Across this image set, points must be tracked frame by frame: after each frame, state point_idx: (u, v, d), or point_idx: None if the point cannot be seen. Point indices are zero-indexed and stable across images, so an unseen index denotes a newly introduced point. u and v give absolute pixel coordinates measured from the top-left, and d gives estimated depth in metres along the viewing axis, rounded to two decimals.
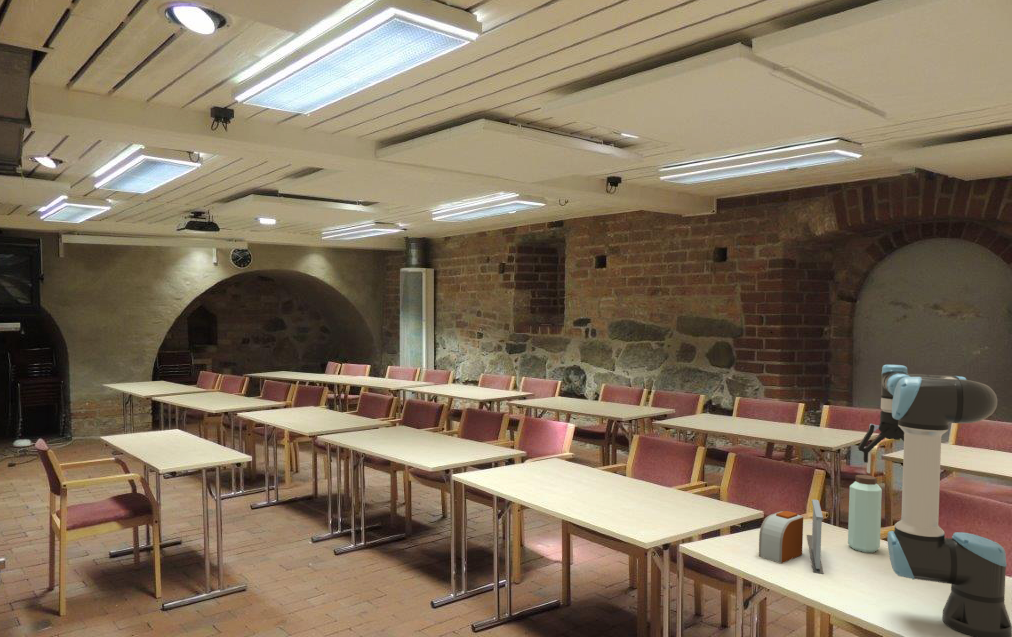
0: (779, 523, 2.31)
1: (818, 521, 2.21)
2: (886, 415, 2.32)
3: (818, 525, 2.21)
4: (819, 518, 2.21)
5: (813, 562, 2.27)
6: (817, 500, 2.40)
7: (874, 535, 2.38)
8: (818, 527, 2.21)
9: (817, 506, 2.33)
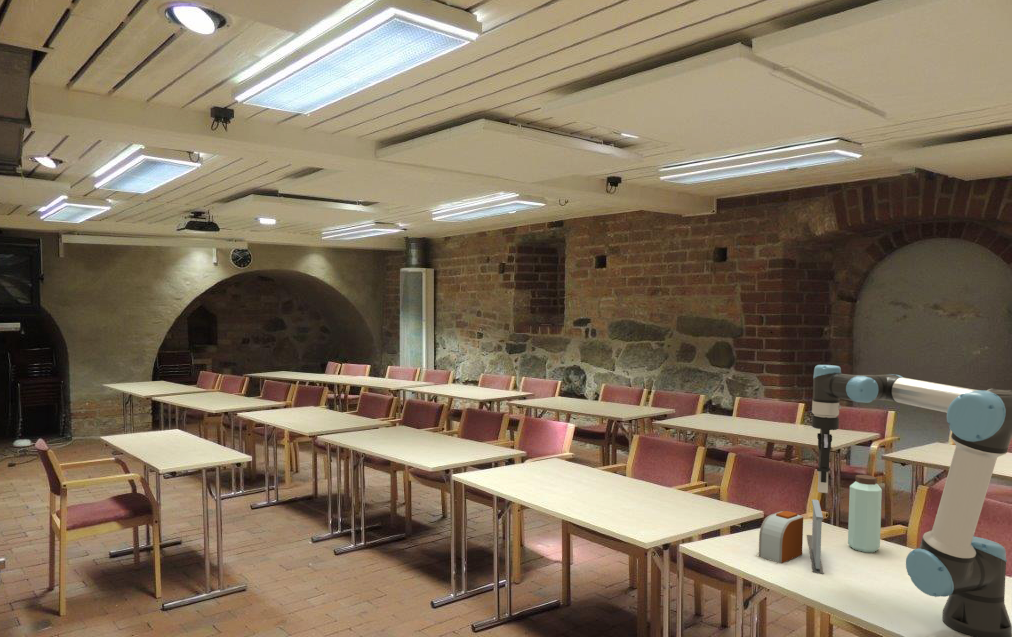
0: (779, 523, 2.31)
1: (818, 521, 2.21)
2: None
3: (818, 525, 2.21)
4: (819, 518, 2.21)
5: (813, 562, 2.27)
6: (817, 500, 2.40)
7: (874, 535, 2.38)
8: (818, 527, 2.21)
9: (817, 506, 2.33)
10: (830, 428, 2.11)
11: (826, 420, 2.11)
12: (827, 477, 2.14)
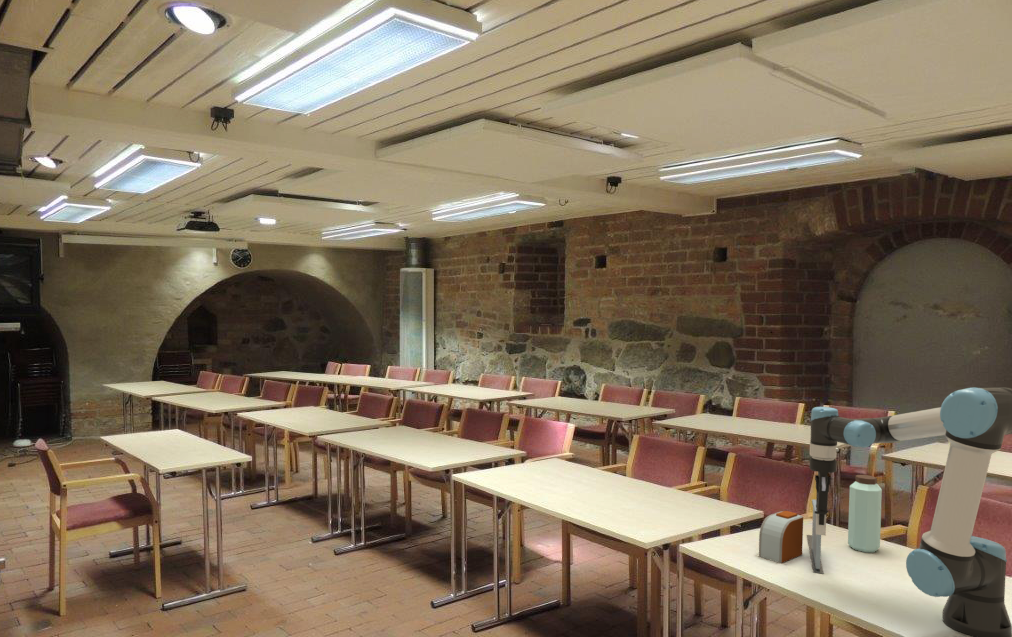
0: (779, 523, 2.31)
1: None
2: None
3: None
4: None
5: (813, 562, 2.27)
6: None
7: (874, 535, 2.38)
8: None
9: None
10: (828, 471, 2.11)
11: (824, 463, 2.11)
12: (825, 519, 2.14)
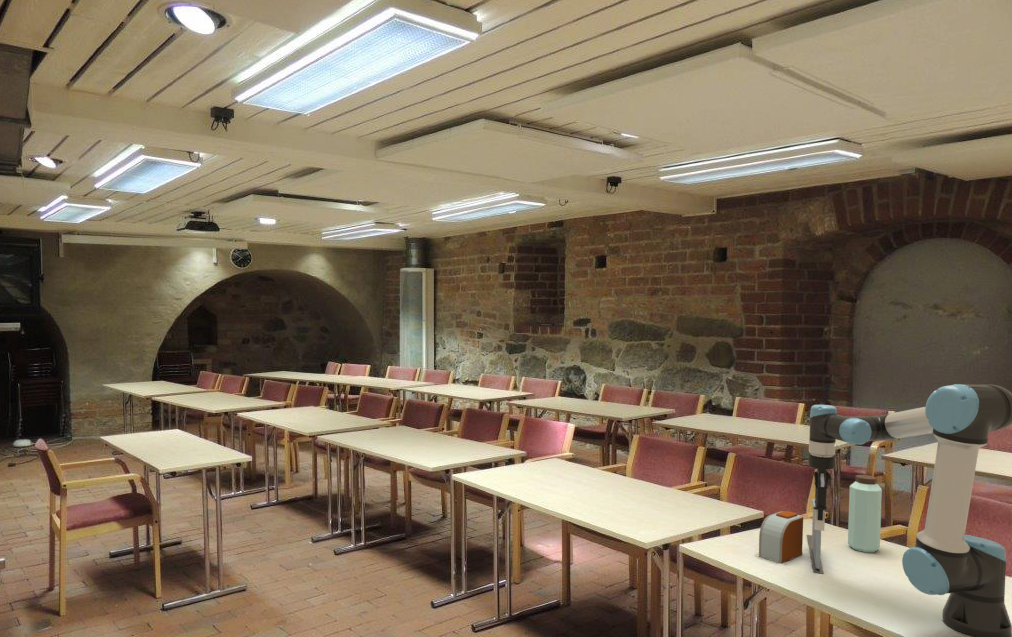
0: (779, 523, 2.31)
1: None
2: None
3: None
4: None
5: (813, 562, 2.27)
6: None
7: (874, 535, 2.38)
8: None
9: None
10: (826, 468, 2.15)
11: (823, 460, 2.15)
12: (824, 515, 2.18)
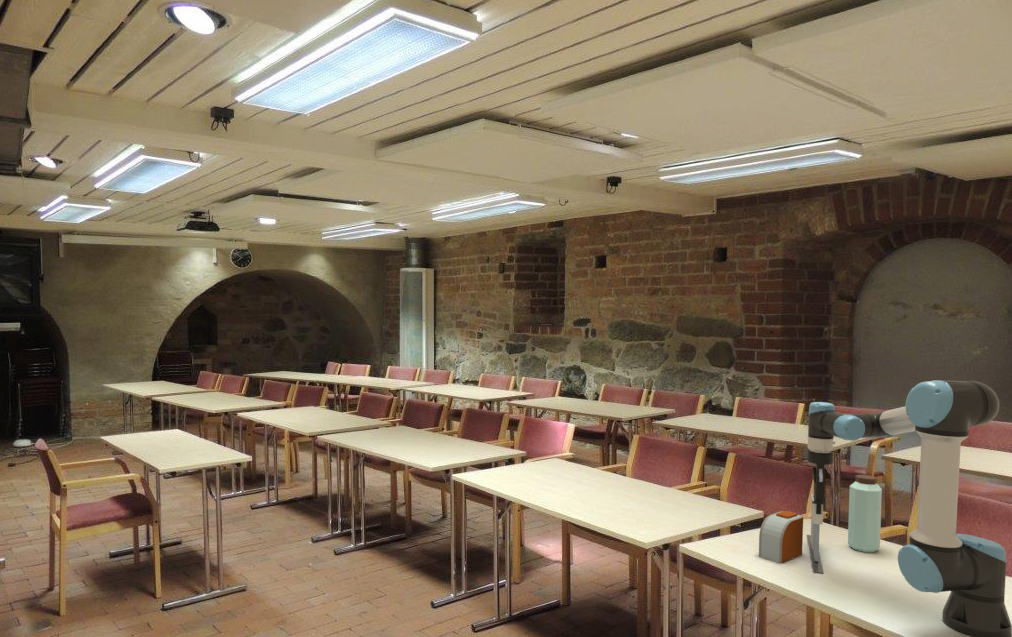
0: (779, 523, 2.31)
1: None
2: None
3: None
4: None
5: (813, 562, 2.27)
6: None
7: (874, 535, 2.38)
8: None
9: None
10: (825, 463, 2.22)
11: (821, 455, 2.22)
12: (822, 509, 2.25)
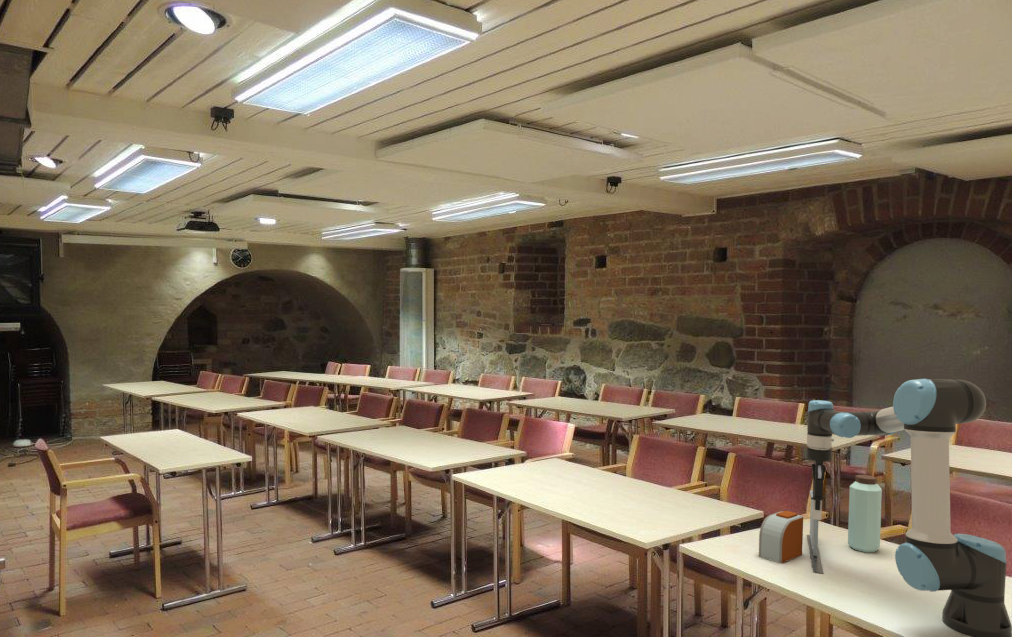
0: (779, 523, 2.31)
1: None
2: None
3: None
4: None
5: (813, 562, 2.27)
6: None
7: (874, 535, 2.38)
8: None
9: None
10: (823, 460, 2.27)
11: (820, 452, 2.27)
12: (821, 505, 2.30)
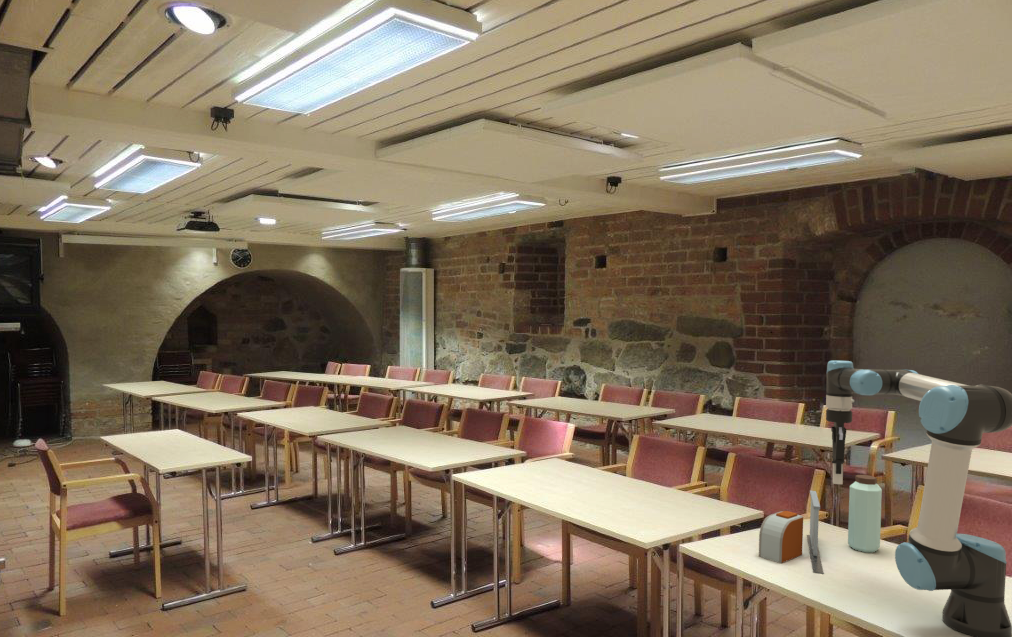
0: (779, 523, 2.31)
1: (815, 510, 2.33)
2: None
3: (815, 514, 2.33)
4: (816, 507, 2.33)
5: (813, 562, 2.27)
6: (815, 491, 2.52)
7: (874, 535, 2.38)
8: (815, 516, 2.33)
9: (815, 497, 2.45)
10: (844, 421, 2.19)
11: (841, 413, 2.19)
12: (842, 469, 2.21)
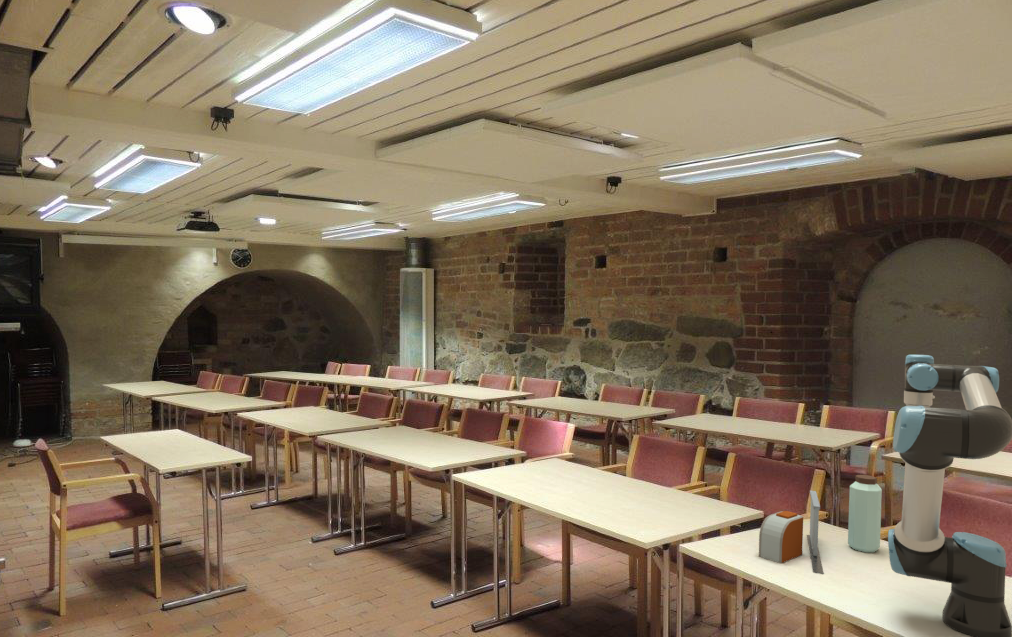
0: (779, 523, 2.31)
1: (815, 510, 2.33)
2: None
3: (815, 514, 2.33)
4: (816, 507, 2.33)
5: (813, 562, 2.27)
6: (815, 491, 2.52)
7: (874, 535, 2.38)
8: (815, 516, 2.33)
9: (815, 497, 2.45)
10: None
11: None
12: None
